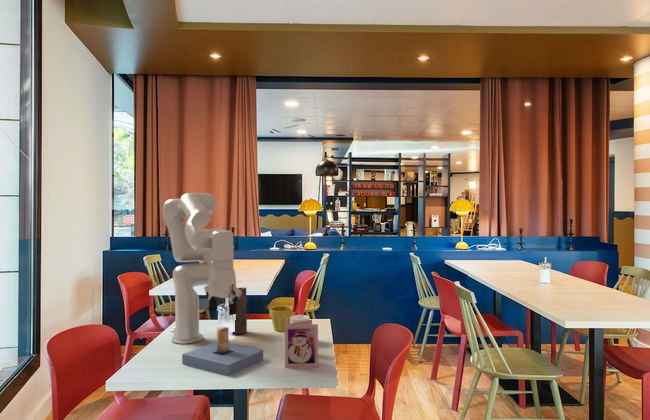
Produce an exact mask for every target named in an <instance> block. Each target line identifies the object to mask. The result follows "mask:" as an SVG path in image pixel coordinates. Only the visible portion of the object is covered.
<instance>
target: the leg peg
mask: <svg viewBox="0 0 650 420" xmlns="http://www.w3.org/2000/svg"><path fill="white" fill-rule="evenodd" d="M229 336H230V335H229V327H226V326H221V327H217V328H216V342H217V354H218V355H223V356H224V355H226V354H229V343H230V342H229V339H230V338H229Z"/></svg>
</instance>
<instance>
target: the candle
mask: <svg viewBox="0 0 650 420" xmlns="http://www.w3.org/2000/svg"><path fill="white" fill-rule="evenodd" d="M237 288H238V289H239V290H241V291H242V294H241V297H240V299H239V300H238V302H237V312H236V320H235V333H234V334H242V333H247V332H248V329H247V328H248V323H247V321H248V320H247V319H248V317H247V315H248V314H247V312H248V311H247V287H237ZM235 296H236V295H235ZM232 299H233V298H232Z"/></svg>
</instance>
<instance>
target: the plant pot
mask: <svg viewBox="0 0 650 420" xmlns="http://www.w3.org/2000/svg"><path fill="white" fill-rule="evenodd" d="M293 313H294V312H293V307H292V306H290V305H277V306H272V307H270V308H269V317H270V318H271V322H272V326H273V327H272V328H273V331H275V332H278V333H279V332H281V333H282V332H285V324H290V317H291V316H293Z"/></svg>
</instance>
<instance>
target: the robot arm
mask: <svg viewBox="0 0 650 420" xmlns="http://www.w3.org/2000/svg"><path fill="white" fill-rule="evenodd" d="M216 209H217V200H216V198H215V196H214V195H213V194H212V193H208V192H188V193H184V194H183V195H181V197H180V198H172V199H167V200H166V201H165V202H164V203H163V206H162V216H163V220H164V223H165V226H166V228H167V230H168V232H169V233H168V234H169V238H170V244H171V249H172V250H171V251H172V256H173V258H174V260H175V262H178V263H185V264H180V265H178V266H176V267H175V268H174V269H173V270H172V280H173V285H174V296H175V297H174V298H175V299H174V300H175V301H174V303H175V304H174V305H175V308H174V309H175V314H174V315H175V316H174V317H175V325H174V327H173V328H172V329H171V330H170V332H171V333H173V336H172V337H171V341H172V342H173V343H174V344H178V345H179V344H180V345H182V344H185V345H186V344H193V343H198V342H199V341H202V340H203V339H204V335H203V334H202V333H200V297H199V294H198V292H197V291H196V290H195V289H194V287H198V286H199V287H200V286H204V287H203V288H204V292H205V296H206V297H207V301H208V311H209V312H214V311H216V310H217V308H218V307H217V306H218V305H217V303H218V302H217V298H220V299H228V301H229V303H228V315H229V316H230V315H233V314H236V312H237V302H238V300H239V299H240V297H241V294H242V291H241V290H239V289H238V288H239V287H238V286H237V277H236V271H235V268H234V233H233V232H232V230H226V229H223V228H203V227H205V226H207V224H209V223H210V221H211V220H212V219H211V217H212V216H211V215H212V214H213V213H214V211H216ZM182 219H187V221H186V223H185V221H183V220H182ZM191 262H196V263H191ZM197 262H199V263H197ZM186 263H187V264H186ZM235 295H236V296H235ZM232 298H233V299H232Z"/></svg>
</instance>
